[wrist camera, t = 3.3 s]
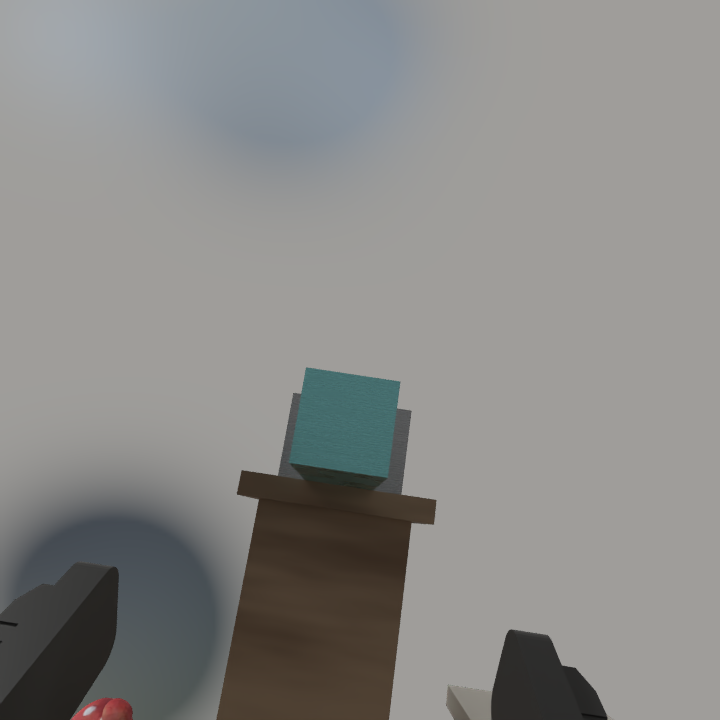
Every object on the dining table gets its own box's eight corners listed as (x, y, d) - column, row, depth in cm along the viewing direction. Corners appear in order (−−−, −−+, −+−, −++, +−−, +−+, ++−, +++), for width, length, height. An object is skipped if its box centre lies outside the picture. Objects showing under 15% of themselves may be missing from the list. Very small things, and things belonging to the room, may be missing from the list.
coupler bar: (290, 486, 38) (302, 417, 40) (388, 501, 38) (397, 431, 40) (239, 455, 19) (267, 322, 20) (437, 485, 19) (451, 350, 20)
